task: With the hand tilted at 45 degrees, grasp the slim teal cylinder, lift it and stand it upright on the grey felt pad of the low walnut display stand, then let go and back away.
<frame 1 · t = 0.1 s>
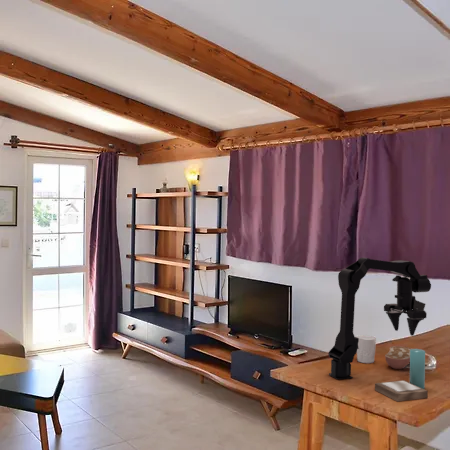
hand: (404, 333, 206), 15 cm above the table, tool pointing down, fingers open, 9 cm apart
white cup: (365, 361, 220), on the table
walnut display stand: (400, 393, 178), on the table
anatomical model: (399, 365, 216), on the table
teal cylinder: (416, 387, 186), on the table
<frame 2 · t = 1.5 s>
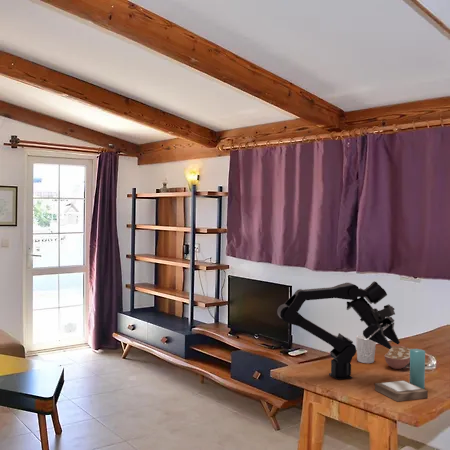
hand: (394, 345, 190), 13 cm above the table, tool tilted 45°, fingers open, 9 cm apart
nothing on the table moved.
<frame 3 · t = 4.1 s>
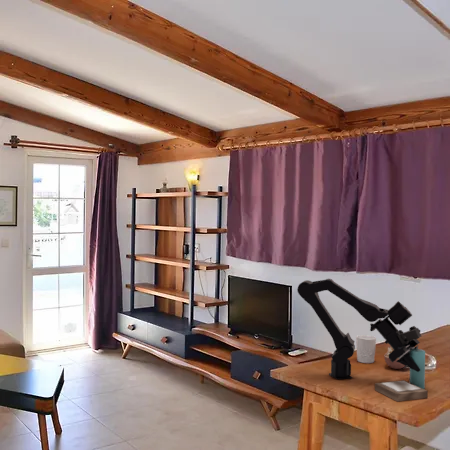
hand: (421, 369, 185), 7 cm above the table, tool tilted 45°, fingers closed on teal cylinder, 5 cm apart
teal cylinder: (417, 387, 186), on the table, touching gripper
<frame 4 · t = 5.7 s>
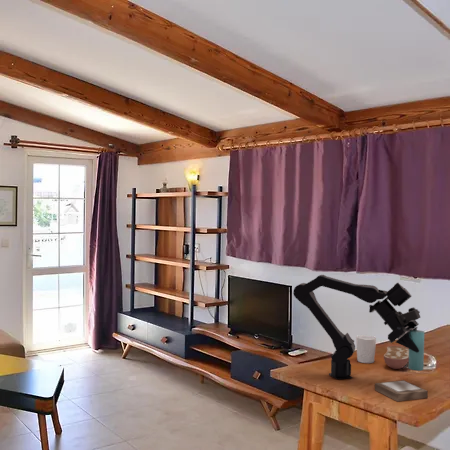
hand: (420, 350, 184), 13 cm above the table, tool tilted 45°, fingers closed on teal cylinder, 5 cm apart
teal cylinder: (415, 368, 185), point 7 cm above the table, touching gripper
everything else where it was.
when the fingers open (10 cm above the table, at t = 7.5 s): teal cylinder drops 1 cm, resting on walnut display stand.
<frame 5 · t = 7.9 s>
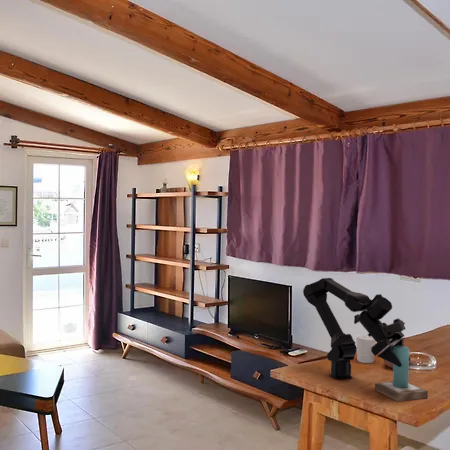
hand: (405, 363, 177), 11 cm above the table, tool tilted 45°, fingers open, 9 cm apart
teal cylinder: (400, 385, 178), point 3 cm above the table, touching walnut display stand
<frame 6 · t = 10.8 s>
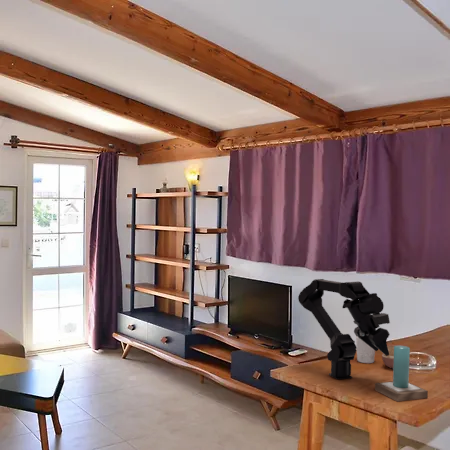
hand: (382, 352, 190), 11 cm above the table, tool tilted 30°, fingers open, 9 cm apart
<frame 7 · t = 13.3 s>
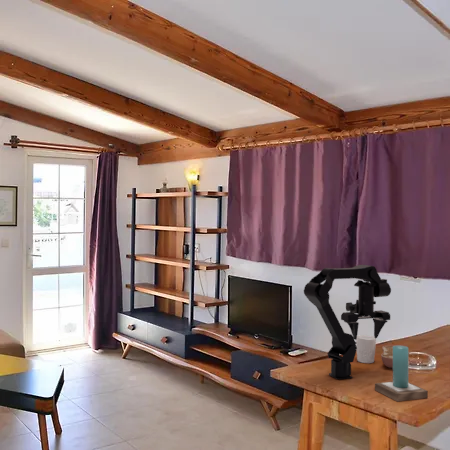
hand: (365, 338, 203), 13 cm above the table, tool pointing down, fingers open, 9 cm apart
at the end: teal cylinder inside the target area on the walnut display stand (0.1 cm from its centre), point 2.8 cm above the walnut display stand's base; teal cylinder tilted 1°; the gripper is holding nothing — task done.
